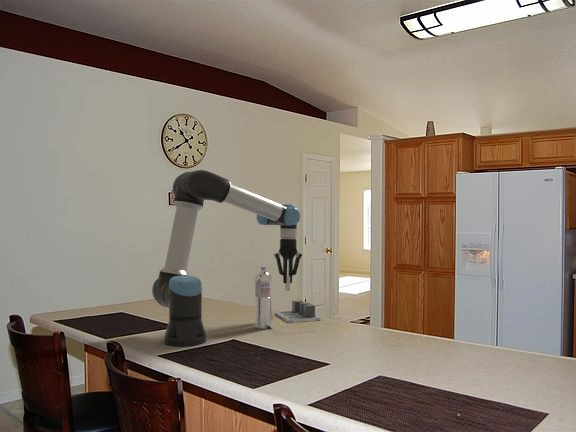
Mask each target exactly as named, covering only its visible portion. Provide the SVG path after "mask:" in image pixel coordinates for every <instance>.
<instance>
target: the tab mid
mask: <svg viewBox="0 0 576 432" xmlns="http://www.w3.org/2000/svg"><path fill="white" fill-rule="evenodd" d="M307 304H309V305H310V304H311V303H310V302H307V301H303V303H299V315H303V305H307Z"/></svg>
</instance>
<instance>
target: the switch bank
mask: <svg viewBox="0 0 576 432" xmlns="http://www.w3.org/2000/svg"><path fill="white" fill-rule="evenodd" d="M274 315H276V316H277V317H278V318H280V319H281V320H283V321H284V322H286V323H299V322H301V323H302V322H314V321H315V322H316V321H321V317H320V316H319V315H316V314H315V317H312V318H303V315H299V313H292V310H280V311H274Z"/></svg>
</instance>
